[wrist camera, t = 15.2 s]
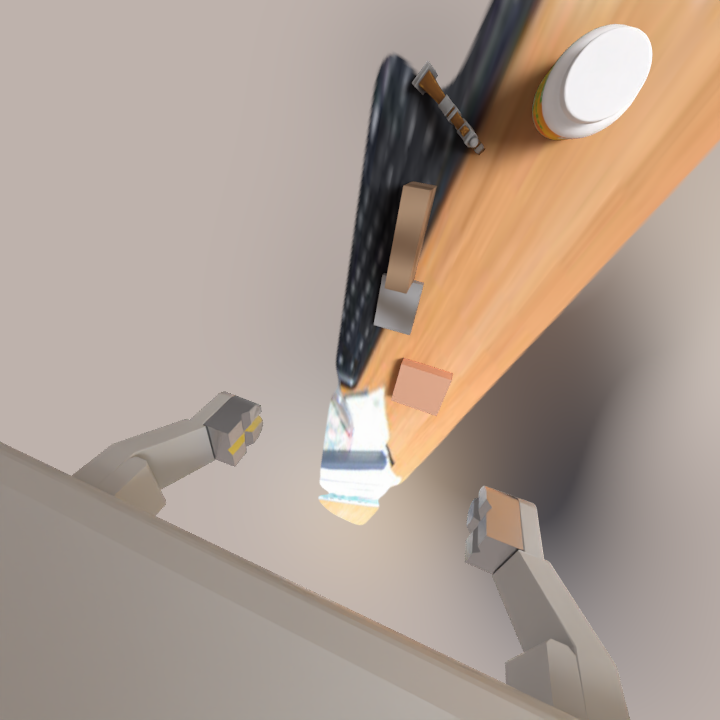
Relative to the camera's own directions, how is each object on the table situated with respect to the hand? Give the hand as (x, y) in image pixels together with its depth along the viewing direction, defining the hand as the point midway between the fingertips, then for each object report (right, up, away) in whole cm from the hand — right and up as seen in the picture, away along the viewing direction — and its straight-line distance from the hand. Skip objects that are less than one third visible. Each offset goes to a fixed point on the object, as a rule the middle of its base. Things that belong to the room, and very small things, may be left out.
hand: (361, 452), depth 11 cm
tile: (+9, +2, +31) cm, 33 cm away
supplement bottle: (+17, +24, +14) cm, 33 cm away
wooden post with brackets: (+8, +26, +17) cm, 32 cm away
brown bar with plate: (+5, +14, +25) cm, 30 cm away
